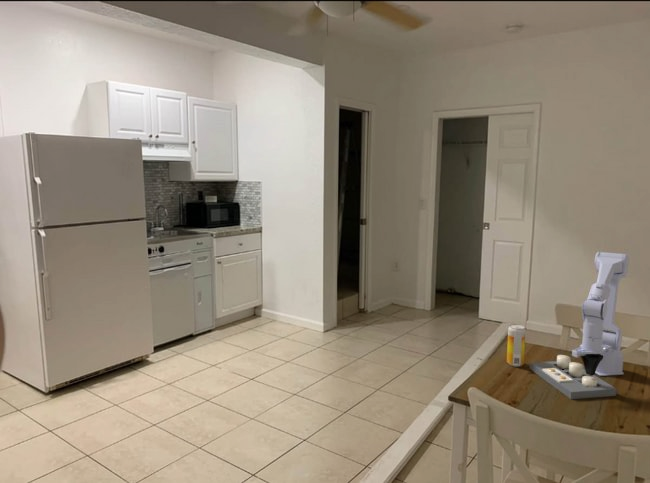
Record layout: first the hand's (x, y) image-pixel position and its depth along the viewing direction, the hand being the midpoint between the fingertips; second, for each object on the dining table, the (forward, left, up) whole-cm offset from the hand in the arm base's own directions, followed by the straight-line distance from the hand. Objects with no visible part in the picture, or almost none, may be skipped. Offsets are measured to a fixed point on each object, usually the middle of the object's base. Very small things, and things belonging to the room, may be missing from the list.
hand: (589, 374), depth 156 cm
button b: (0, -7, -3) cm, 8 cm away
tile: (+7, -7, -3) cm, 10 cm away
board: (+2, -7, -6) cm, 9 cm away
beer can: (+13, -24, -6) cm, 28 cm away
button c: (0, 0, -5) cm, 5 cm away
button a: (0, -14, -3) cm, 14 cm away
